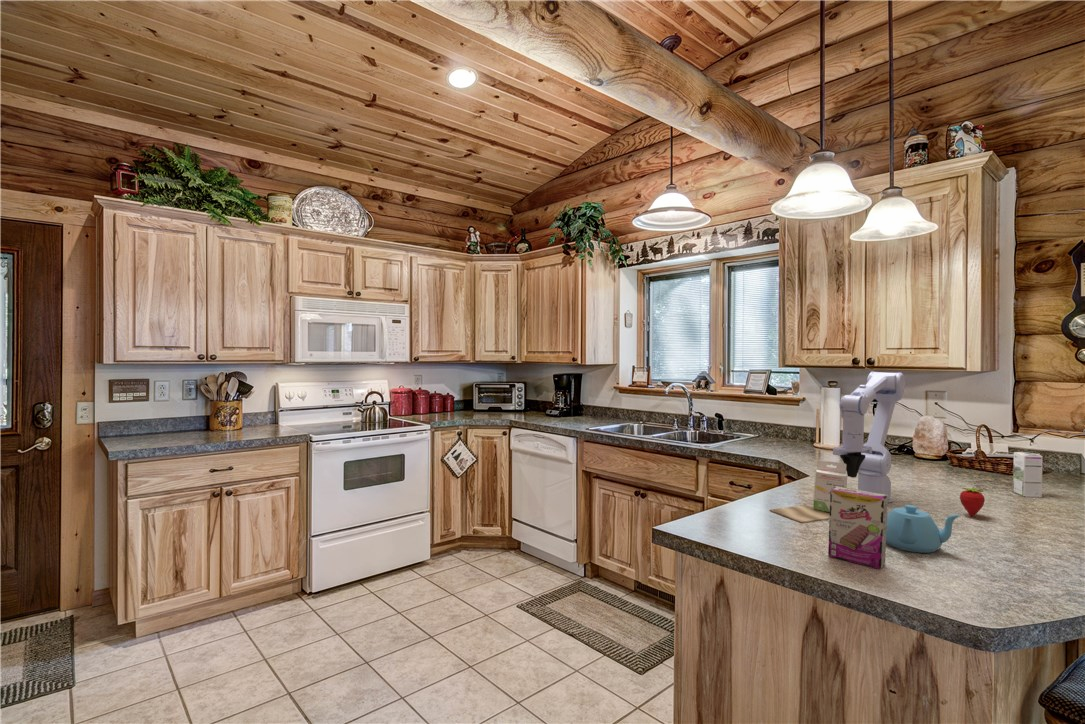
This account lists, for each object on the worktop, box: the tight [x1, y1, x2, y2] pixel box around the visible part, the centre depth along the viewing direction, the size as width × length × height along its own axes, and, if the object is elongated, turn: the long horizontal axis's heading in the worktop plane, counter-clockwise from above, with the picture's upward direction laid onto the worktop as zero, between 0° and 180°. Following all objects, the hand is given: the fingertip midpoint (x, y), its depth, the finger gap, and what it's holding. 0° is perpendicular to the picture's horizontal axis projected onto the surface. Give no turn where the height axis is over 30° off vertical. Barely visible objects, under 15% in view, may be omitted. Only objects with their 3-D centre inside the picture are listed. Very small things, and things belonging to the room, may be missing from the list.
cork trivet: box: [769, 504, 830, 524], centre depth 160 cm, size 14×12×1 cm
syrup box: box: [1012, 451, 1044, 498], centre depth 185 cm, size 6×6×14 cm
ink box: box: [813, 459, 848, 513], centre depth 164 cm, size 9×5×15 cm, turn 62°
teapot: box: [886, 504, 962, 554], centre depth 135 cm, size 15×15×10 cm
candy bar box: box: [827, 486, 889, 570], centre depth 125 cm, size 11×5×16 cm, turn 48°
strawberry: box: [959, 487, 986, 517], centre depth 160 cm, size 6×8×10 cm
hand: (851, 476), depth 167 cm, fingers closed
